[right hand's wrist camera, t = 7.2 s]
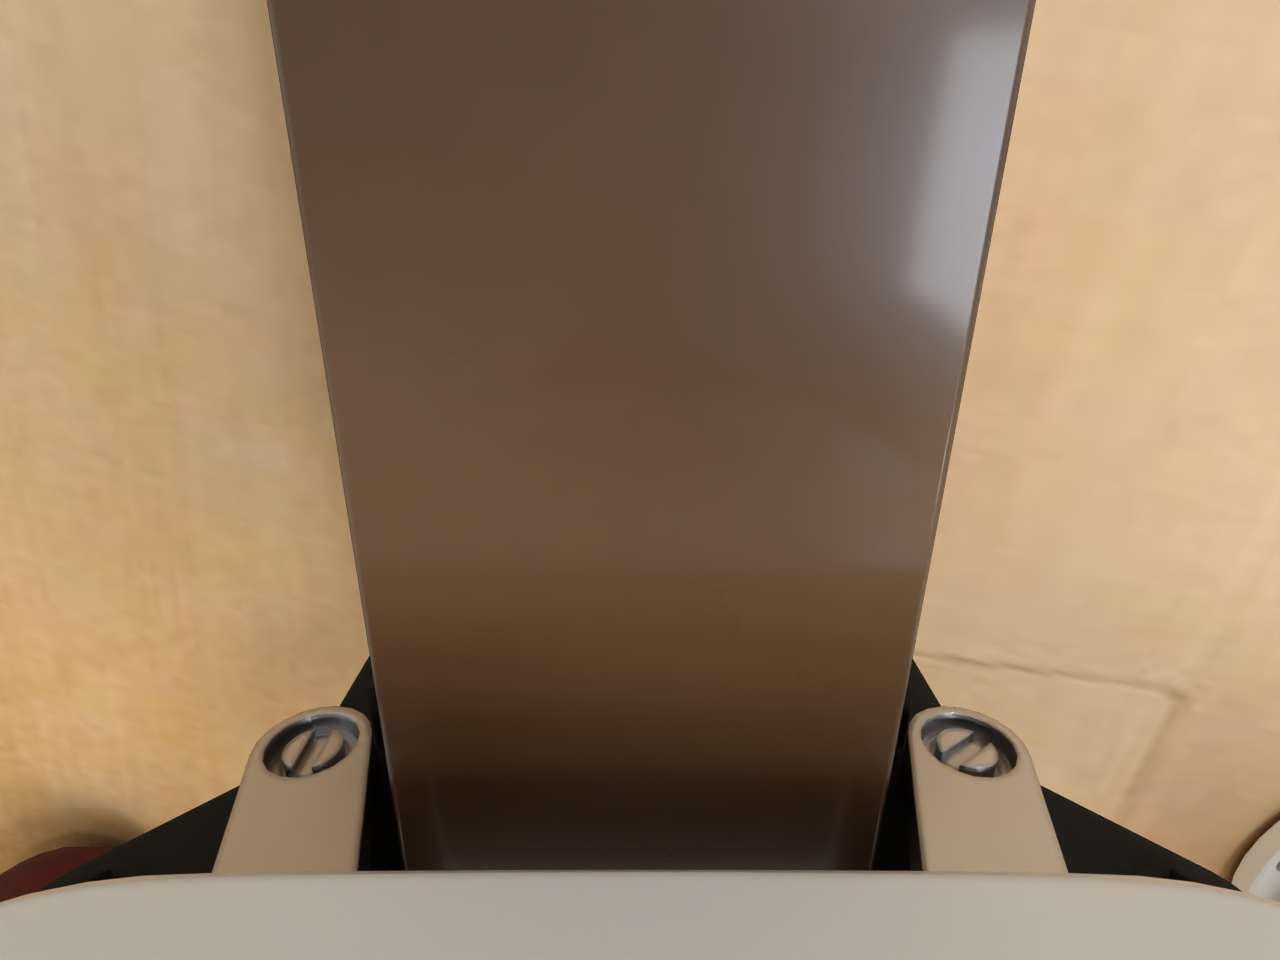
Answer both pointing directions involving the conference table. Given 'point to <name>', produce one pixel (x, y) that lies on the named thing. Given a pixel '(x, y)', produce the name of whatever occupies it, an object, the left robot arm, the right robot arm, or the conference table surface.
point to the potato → (44, 870)
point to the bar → (645, 399)
